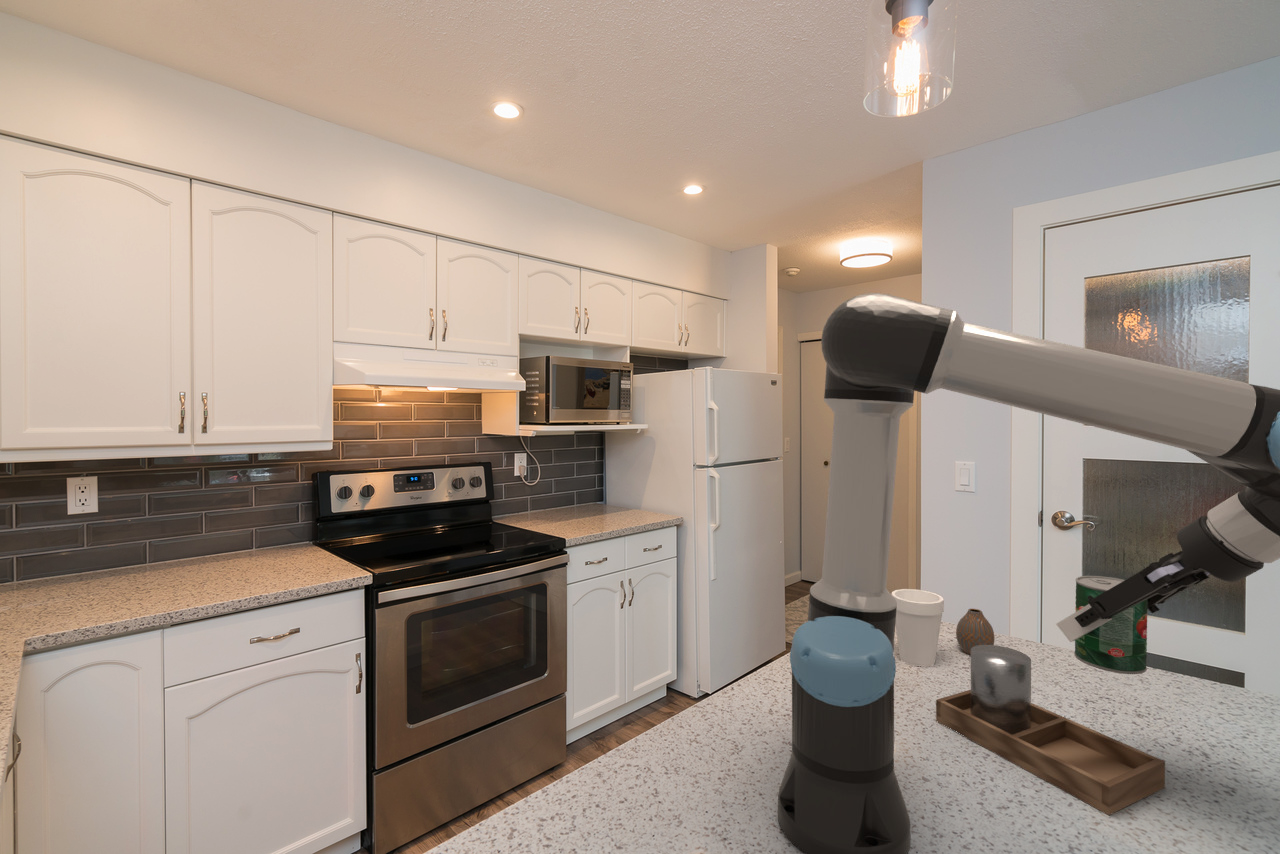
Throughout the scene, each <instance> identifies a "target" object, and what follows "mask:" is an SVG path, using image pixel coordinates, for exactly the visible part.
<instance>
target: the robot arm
mask: <svg viewBox="0 0 1280 854" xmlns="http://www.w3.org/2000/svg"><path fill="white" fill-rule="evenodd" d="M820 340H821V352H822V354H823V355H822V356H823V358H824V361H825V363H826V368H825V381H824V383H825V384H824V395H823V396H824V398H823V401H824V403H825V404H826V406H828V407H829V408H830V410H831V411H832V413H833V425H832V426H833V427H832V440H831V452H830V453H831V454H830V466H829V480H828V492H827V493H828V494H827V507H826V519H825V520H826V521H825V533H824V534H825V535H824V548H823V559H822V571H821V572H822V573H821V574H822V575H821V578H820V579H819V580H818V581H817V582H815V583H814V584H813V585H811V587H810V588H809V597H808V610H807V611H808V612H807V621H806V622H804V623H802V624H801V625H800V626H799V627H798V628H797V629H796V630H795V632H794V633H793V637H792V641H791V643H792V644H791V648H790V651H789V662H790V663H789V664H790V667H791V668H790V669H791V741H792V742H791V744H792V745H791V754H790V758H789V761H788V764H787V767H786V769H785V772H784V775H783V776H782V777H783V778H782V781H781V784H780V786H779V790H778V793H777V794H778V795H777V818H778V819H777V820H778V823H779V825H780V828H781V830H782V831H783V833H784V836H786V837H787V839H788V840H789V841H790V842H791V843H792V844H793V845H794V846H795V847H796V848H797V849H799V850H800V851H801V852H803V853H804V854H908V853H909V851H910V848H911V820H910V814H909V811H908V808H907V805H906V803H905V800H904V796H903V794H902V793H903V792H902V790H901V787H900V785H899V782H898V779H897V775H896V773H895V677H896V673H897V671H896V669H897V666H896V659H895V657H894V650H895V634H896V626H895V623H896V609H897V601H896V600H895V598H894V597H893V596H892V593H890V591H889V590H888V589H887V583H888V572H889V558H890V557H889V556H890V546H891V535H892V534H891V533H892V521H893V519H892V518H893V509H894V507H893V506H894V495H895V486H896V485H895V484H896V470H897V458H898V457H897V456H898V446H899V434H900V424H901V423H900V420H901V417H902V415H903V414H905V413H907V411H908V410H910V409H911V408H912V407H913V406H914V400H915V399H914V397H915V392H918V393H923V394H926V395H928V394H930V393H932V392H934V391H937V390H939V389H941V390H946V391H951V392H954V393H958V394H961V395H962V394H963V395H966V396H970V397H975V398H978V399H982V400H987V401H990V402H994V403H998V404H1002V405H1006V406H1010V407H1014V408H1019V409H1021V410H1022V409H1023V410H1025V411H1026V410H1027V411H1030V412H1035V413H1037V414H1038V413H1039V414H1042V415H1046V416H1050V417H1054V418H1057V419H1063V420H1067V421H1069V422H1074V423H1078V424H1082V425H1086V426H1089V427H1090V426H1091V427H1094V428H1098V429H1102V430H1107V431H1110V432H1114V433H1119V434H1122V435H1127V436H1130V437H1134V438H1138V439H1142V440H1146V441H1151V442H1154V443H1157V444H1163V445H1166V446H1170V447H1174V448H1179V449H1182V450H1185V451H1187V452H1188V453H1190V454H1192V455H1194V456H1196V457H1197V458H1199V459H1201V460H1202V461H1203V462H1206V463H1207V464H1209V465H1210V466H1212V467H1215V468H1216V469H1218V470H1219V471H1220V472H1223V474H1226V475H1228V476H1229V477H1231V478H1232V479H1234V480H1236V481H1238V482H1239V483H1240V484H1241V485H1243V486H1244V487H1245V488H1243V489H1242V490H1240V491H1237V493H1234V495H1231V496H1230V497H1229V498H1227V499H1225V500H1224V501H1222V502H1220V503H1219V504H1217V505H1216V506H1214V507H1212V508H1211V509H1209V510H1208V511H1207V515H1206V516H1205V515H1201V516H1200V517H1198V518H1196V519H1195V520H1193V521H1192V522H1190V523H1188V524H1186V525H1185V526H1184V527H1182V528H1180V529H1179V530H1178V531H1177V532H1176V540H1177V542H1178V545H1180V547H1181V550H1179V551H1178V552H1176V553H1173V552H1170V553H1168V554H1166V555H1164V556H1162V557H1160V558H1159V559H1158V561H1155V562H1154V561H1153V562H1151V563H1149V565H1147V566H1146V567H1145V568H1143V569H1142V570H1140V571H1138V572H1137V573H1136V574H1134V575H1132V576H1130V577H1127V578H1126V579H1124V580H1125V581H1123V582H1121V583H1119V584H1118V585H1116V586H1114V587H1112V588H1111V589H1109V590H1107V591H1105V592H1104V593H1102V594H1100V595H1098V596H1097V597H1095V598H1094V597H1093V596H1091V595H1090V596H1088V597H1087V599H1088V600H1089V601H1088V605H1086V606H1085V607H1083V608H1082V609H1080V610H1078V611H1077V612H1076V611H1075V612H1073V613H1072V614H1070V615H1069V616H1067V617H1065V618H1064V619H1062V620H1060V621H1058V622H1057V623H1055V624H1056V626H1057V627H1058V629H1059V630H1060V631H1061V632H1062V633H1063V635H1064V636H1065V638H1067V640H1068V641H1069V642H1070V643H1071V642H1075V640H1076V639H1078V638H1080V637H1082V636H1083V635H1085V634H1087V633H1089V632H1090V631H1092V630H1094V629H1096V628H1097V627H1099V626H1101V625H1103V624H1104V623H1106V622H1108V621H1110V620H1111V618H1113V616H1115V615H1117V614H1119V613H1121V612H1123V611H1125V610H1127V609H1129V608H1131V607H1132V606H1134V605H1136V604H1138V603H1140V602H1142V601H1144V600H1146V599H1148V605H1147V609H1148V610H1147V611H1149V612H1150V613H1151V614H1154V613H1157V612H1159V611H1160V608H1159V607H1158V606H1157V605H1163V604H1165V603H1166V601H1169V600H1170V599H1171V598H1174V597H1175V596H1177V595H1178V594H1180V593H1183V591H1186V590H1188V589H1190V588H1192V587H1193V586H1196V585H1198V584H1200V583H1201V584H1202V583H1203V582H1206V581H1208V580H1209V579H1210V576H1212V577H1214V578H1217V579H1218V580H1220V581H1224V582H1229V583H1235V582H1239V581H1241V580H1243V579H1245V578H1247V577H1249V576H1250V575H1252V574H1254V573H1257V572H1258V571H1260V570H1262V569H1263V568H1264V566H1265V564H1272V563H1274V562H1276V561H1277V560H1280V389H1277V388H1273V387H1268V386H1265V385H1264V386H1263V385H1256V384H1252V383H1247V382H1245V381H1240V380H1236V379H1232V378H1225V377H1222V376H1221V377H1220V376H1217V375H1213V374H1207V373H1203V372H1197V371H1193V370H1188V369H1183V368H1180V367H1179V368H1178V367H1174V366H1169V365H1165V364H1160V363H1156V362H1151V361H1146V360H1142V359H1136V358H1132V357H1127V356H1122V355H1117V354H1113V353H1108V352H1104V351H1100V350H1094V349H1090V348H1085V347H1081V346H1077V345H1072V344H1071V345H1070V344H1066V343H1061V342H1058V341H1052V340H1047V339H1043V338H1038V337H1034V336H1033V337H1032V336H1030V335H1023V334H1019V333H1016V332H1015V333H1014V332H1010V331H1005V330H1000V329H995V328H991V327H988V326H981V325H978V324H973V323H972V324H971V323H967V322H964V320H962V319H961V316H960V315H959V314H958V312H957V311H956V310H952V309H948V308H944V307H943V308H942V307H939V306H934V305H930V304H927V303H923V302H919V301H915V300H911V299H907V298H903V297H899V296H895V295H892V294H889V293H881V292H871V293H870V292H869V293H863V294H860V295H856V296H853V297H852V298H850V299H847V300H846V301H844V302H842V303H841V304H839V305H838V306H837V307H836V308H835V309H834V310H833V311H832V313H831V314H830V315H829V317H828V318H827V320H826V322H825V324H824V327H823V330H822V334H821V339H820Z"/></svg>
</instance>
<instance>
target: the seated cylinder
mask: <svg viewBox="0 0 1280 854" xmlns="http://www.w3.org/2000/svg"><path fill="white" fill-rule="evenodd" d="M970 690H971V715H973V716H975V717H977V718H979V719H981V720H983V721H985V722H987V723H989V724H991V725H993V726H995V727H997V728H999V729H1001V730H1003V731H1005V732H1007V733H1009V734H1011V735H1013V734H1016V733H1019V732H1021V731H1024V730H1027V729H1030V728H1031V703H1032V659H1031V657H1030V656H1028V655H1027V654H1026V653H1024V652H1021V651H1020V650H1017V649H1014V648H1009V647H1006V646H1003V645H1002V646H1001V645H997V644H996V645H995V644H994V645H977V646H974V647H972V648H971V655H970Z"/></svg>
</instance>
